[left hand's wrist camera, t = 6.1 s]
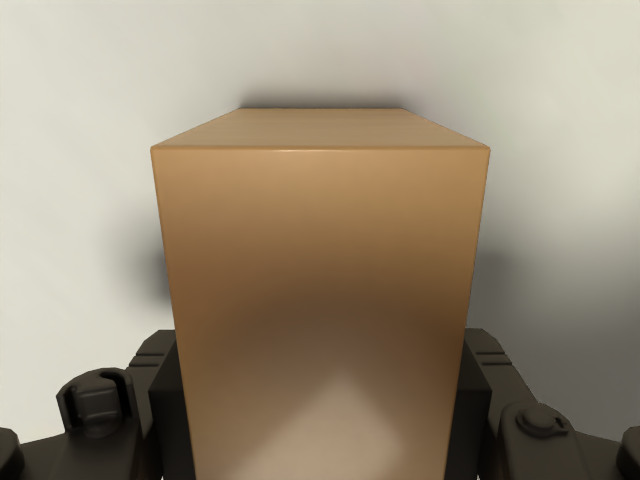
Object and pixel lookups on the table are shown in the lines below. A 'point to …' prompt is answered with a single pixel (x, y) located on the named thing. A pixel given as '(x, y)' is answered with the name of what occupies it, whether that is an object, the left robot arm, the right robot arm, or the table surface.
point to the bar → (320, 288)
